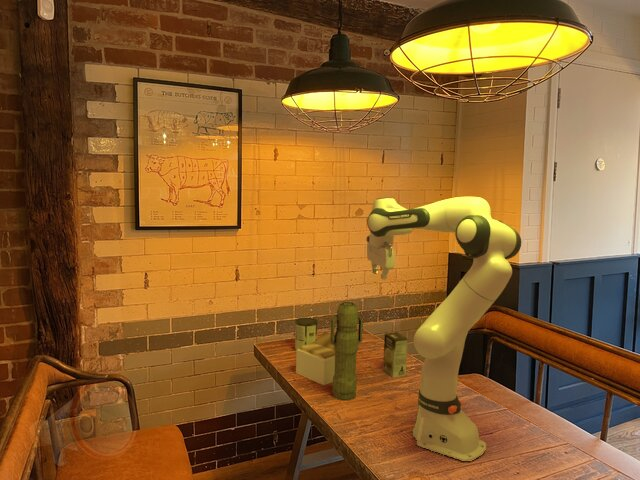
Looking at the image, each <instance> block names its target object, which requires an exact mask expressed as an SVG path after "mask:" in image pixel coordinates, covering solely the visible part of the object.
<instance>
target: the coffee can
mask: <svg viewBox="0 0 640 480" xmlns="http://www.w3.org/2000/svg"><path fill="white" fill-rule="evenodd" d="M294 323H295V330H294V331H295V333H294V335H295V336H294V338H295V339H294V340H295V341H294V345H295V347H294V351H295V352H296V350H297V349H300V346H303V345H306V344H310V343H313V342H315V341H316V340H317V339H318V319H316V318H313V317H300V318H297V319H295V321H294Z"/></svg>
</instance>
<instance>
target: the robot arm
mask: <svg viewBox="0 0 640 480" xmlns="http://www.w3.org/2000/svg"><path fill="white" fill-rule="evenodd" d="M366 221H367V222H366V223H367V224H366V225H367V227H368V230H369V235H367V236H366V239H365V240H366V243H367V245H366V257H367V260H368V261H370V262H371V264H370V265H371V268H372V270H371V271H372V272H371V273H372V274H374V275H377V274H379V269H378V266H379V267H380V268H381V270H382V272H381V274H380V279H381V280H387V279H388V274H389V271H390V270H394V268H395V258H396V257H395V256H396V254H395V249H394V248H393V247H394V237H395V236H405V235H408V234H411V233H412V232H413V231H414V229H415V230H416V229H417V230H426V231H434V232H441V233H454V234H455V240H456V242H457V244H458V245H459V247H460V248H461V249H462V250H463V253H464V255H465V256H466V257H467V258H469V259H473V262H472V265H471V266H470V268H469V269H468V270H467V272H466V273H465V274H464V276H463V277H462V278H461V280H459V281H458V283H457V285H456V286H455V287H454V288H453V290H452V291H451V292H450V293H449V295H447V297H446V298H445V299H444V300H443V301H442V302H441V303H440V304H439V305H438V306H437V307H436V309H434V310H433V312H432V313H431V314H430V315H429V316H428V317H427V318H426V320H425V321H424V322H423V323H422V324H421V325H420V327H418V329H417V330H416V332H415V333H414V335H413V345H414V348H415V350H416V352H417V353H418V354H419V355H420V356H421V357H423V358H425V359H424V361H423V364H422V366H421V374H420V386H419V387H420V390H419V391H418V397H417V404H418V411H417V415H416V416H417V417H416V421H415V423H414V427H413V429H412V432H413V433H412V437H413V438H414V437H415V438H416V439H415V438H414V439H415V441H416V440H417V441H416V442H417V443H416V446H417V445H418V446H421V447H424V448H426V449H430V450H432V451H435V452H438V453H441V454H444V455H448V456H451V457H455V458H458V459H460V460H463V461H468V460H472V459H475V458H477V457H478V456H480V455H481V454H482V453H483V452H484V451H485V449H486V450H487V443H486V442H485V441H484V440H482V439H480V434H479V429H478V426H477V425H476V424H475V422H473V421H472V420H471V418H470V417H469V416H468V414H466V412H464V410H463V409H462V406H464V403H465V400H461V401H460V400H459V397H458V395H457V391H458V377H459V372H460V371H459V370H460V365H461V363H462V358H463V353H464V349H465V342H466V339H467V335H468V333H469V331H470V330H471V328H473V326H475V324H476V323H478V322H479V320H480V319H481V318H483V316H484V315H485V313H487V312H488V310H489V309H490V307H491V306H492V305H493V304H494V303H495V302H496V301H497V299H498V298H499V297H500V295H501V294H502V293H503V291H504V290H505V288H506V287H507V285H508V283H509V281H510V279H511V277H512V275H513V268H512V266H511V263H510V262H509V261H508V260H509V259H513V258H514V257H515V256H517V254H518V253H519V251H520V250H521V247H522V237H521V236H520V234H519V232H518V231H517V230H516V229H515V228H513V227H512V226H511V225H509V224H507V223H505V222H503V221H502V220H496V219H493V218H492V211H491V207H490V204H489V202H488V201H487V200H486V199H484V198H482V197H478V196H459V197H457V196H456V197H452V198H447V199H443V200H438V201H435V202H433V203H429V204H425V205H422V206H418V207H415V208H409V209H408V208H405V207H404V206H401V205H400V204H398V203H397V201H396V199H395V198H393V197H379V198H376V199H374V202H373V205H372V208H371V211H370V213H369V214H368V216H367V219H366ZM418 446H417V447H418ZM426 449H425V450H426ZM432 451H431V452H432ZM435 452H434V453H435ZM485 452H486V451H485ZM438 453H437V454H438ZM441 454H440V455H441ZM444 455H443V456H444ZM470 457H471V458H470Z"/></svg>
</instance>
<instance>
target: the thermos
mask: <svg viewBox="0 0 640 480" xmlns="http://www.w3.org/2000/svg"><path fill="white" fill-rule="evenodd" d="M336 310H337V311H336V315H334V316H333V317H332V318H331V320H330V333H331V344H332V345H334V350H335V373H334V376H333V382H332V396H334V397H335V398H334V397H333V398H334V399H336V398H337V399H336V400H339V399H340V400H339V401H352V400H354V399H355V398H357V397H356V396H357V390H358V389H357V387H358V386H357V385H358V379H357V375H356V374H357V353H358V350H359V345H360V344H361V343H362V341H363V327H364V326H363V325H364V319H363V318H362V317H361V316H360V314H359V312H358V311H359V310H358V308H357V305H356V304H355V303H354V302H351V301H344V302H341V303H339V305H338V307H337V309H336ZM335 322H336V324H335ZM335 325H336V329H335ZM334 335H335V337H334ZM351 399H352V400H351Z"/></svg>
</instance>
